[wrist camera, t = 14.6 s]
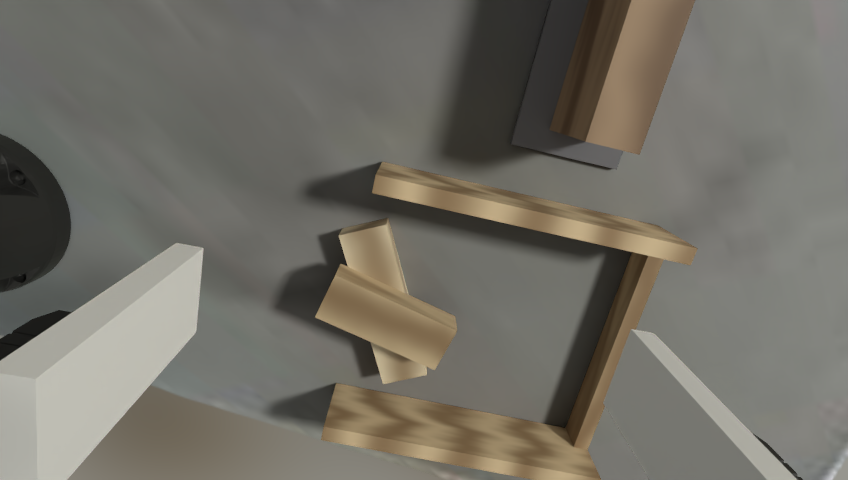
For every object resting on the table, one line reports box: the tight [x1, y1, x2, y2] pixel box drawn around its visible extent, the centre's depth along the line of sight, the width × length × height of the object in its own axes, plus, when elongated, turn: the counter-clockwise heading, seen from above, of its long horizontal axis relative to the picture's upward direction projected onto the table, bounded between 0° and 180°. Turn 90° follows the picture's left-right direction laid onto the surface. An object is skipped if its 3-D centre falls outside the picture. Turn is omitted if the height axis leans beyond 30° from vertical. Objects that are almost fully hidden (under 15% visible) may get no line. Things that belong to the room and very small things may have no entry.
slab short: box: [315, 264, 457, 370], centre depth 45 cm, size 4×12×3 cm, turn 63°
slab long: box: [339, 218, 427, 384], centre depth 48 cm, size 4×16×3 cm, turn 13°
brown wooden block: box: [549, 0, 695, 155], centre depth 37 cm, size 4×16×10 cm, turn 167°
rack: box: [321, 162, 697, 480], centre depth 46 cm, size 27×26×7 cm
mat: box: [510, 0, 623, 170], centre depth 42 cm, size 10×20×1 cm, turn 167°
